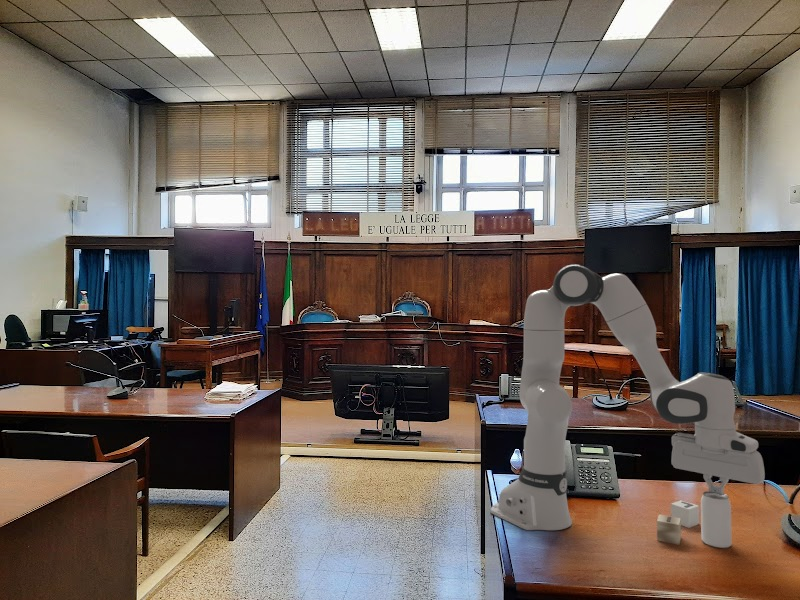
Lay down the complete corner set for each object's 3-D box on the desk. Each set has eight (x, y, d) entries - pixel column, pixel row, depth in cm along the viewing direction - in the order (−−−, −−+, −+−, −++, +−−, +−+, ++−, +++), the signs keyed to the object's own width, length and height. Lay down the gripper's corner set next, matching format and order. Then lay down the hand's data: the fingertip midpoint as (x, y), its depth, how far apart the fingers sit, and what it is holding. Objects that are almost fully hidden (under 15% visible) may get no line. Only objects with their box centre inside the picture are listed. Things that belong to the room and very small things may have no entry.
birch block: (657, 540, 134) (656, 520, 134) (659, 533, 138) (659, 513, 139) (679, 545, 132) (679, 524, 132) (681, 537, 136) (680, 517, 136)
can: (736, 550, 129) (735, 500, 129) (706, 547, 130) (706, 498, 130) (725, 538, 135) (724, 491, 135) (697, 536, 136) (697, 489, 137)
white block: (671, 521, 146) (670, 503, 146) (681, 518, 149) (680, 499, 149) (689, 528, 142) (688, 508, 142) (699, 524, 144) (698, 505, 145)
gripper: (666, 433, 138) (667, 486, 138) (758, 447, 123) (760, 507, 123) (675, 429, 143) (676, 480, 142) (765, 442, 128) (767, 500, 127)
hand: (716, 493), depth 133 cm, fingers closed
